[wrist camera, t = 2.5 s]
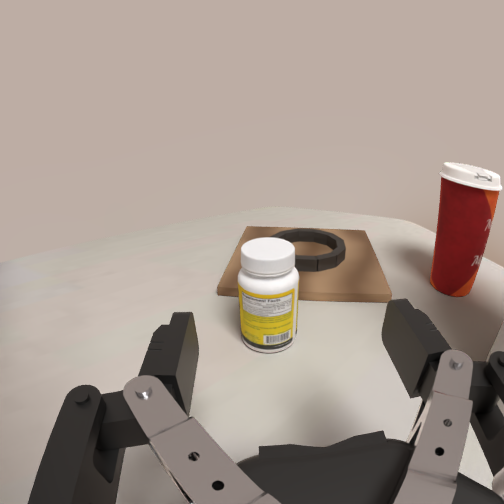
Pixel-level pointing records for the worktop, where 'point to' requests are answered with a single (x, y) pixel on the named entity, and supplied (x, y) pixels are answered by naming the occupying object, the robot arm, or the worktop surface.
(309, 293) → the board
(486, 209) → the paper cup
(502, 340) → the cylinder vase
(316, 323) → the worktop surface
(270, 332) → the supplement bottle
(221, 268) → the worktop surface
